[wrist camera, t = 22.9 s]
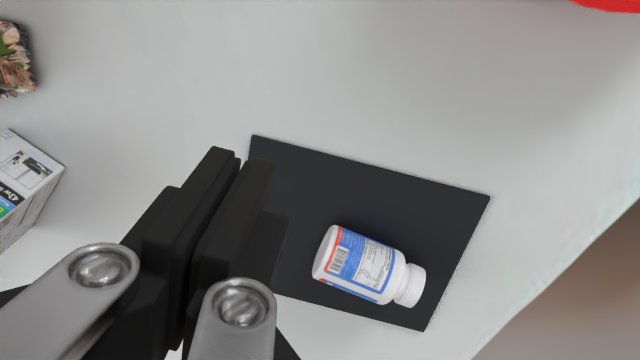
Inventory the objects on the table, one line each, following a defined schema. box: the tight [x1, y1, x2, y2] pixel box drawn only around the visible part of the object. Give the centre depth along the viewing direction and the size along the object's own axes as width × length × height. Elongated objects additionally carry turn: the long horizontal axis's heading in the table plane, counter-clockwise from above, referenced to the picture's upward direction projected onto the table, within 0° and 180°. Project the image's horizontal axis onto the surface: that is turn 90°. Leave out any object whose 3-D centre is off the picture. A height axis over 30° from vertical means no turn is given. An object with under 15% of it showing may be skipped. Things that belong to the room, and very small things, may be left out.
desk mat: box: [248, 135, 490, 332], centre depth 46 cm, size 22×18×1 cm
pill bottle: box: [312, 225, 426, 308], centre depth 44 cm, size 6×5×10 cm
